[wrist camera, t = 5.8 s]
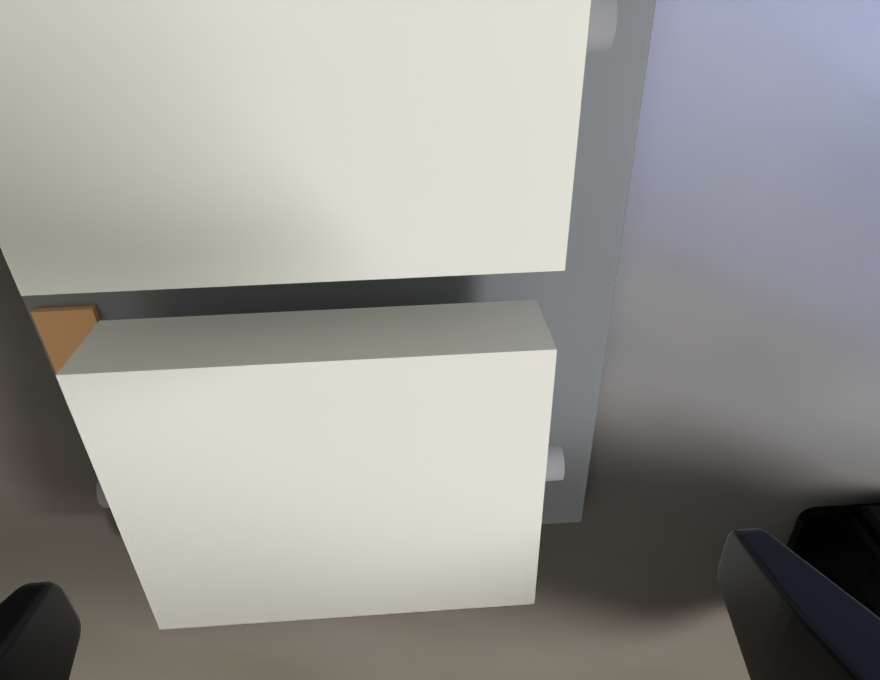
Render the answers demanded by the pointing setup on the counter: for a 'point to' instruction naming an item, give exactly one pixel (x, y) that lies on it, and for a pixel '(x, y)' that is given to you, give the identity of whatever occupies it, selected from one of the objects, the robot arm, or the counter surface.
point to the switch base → (557, 292)
